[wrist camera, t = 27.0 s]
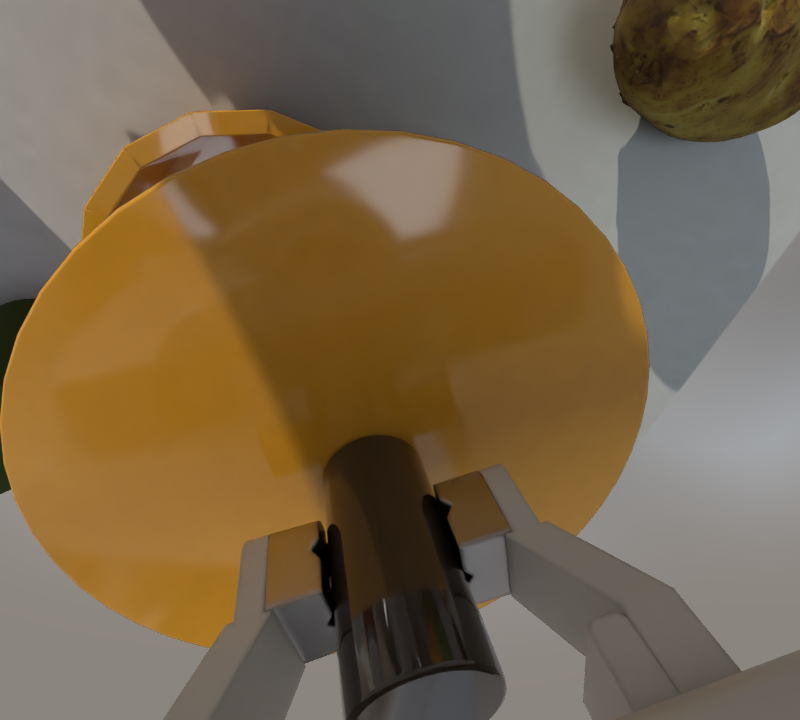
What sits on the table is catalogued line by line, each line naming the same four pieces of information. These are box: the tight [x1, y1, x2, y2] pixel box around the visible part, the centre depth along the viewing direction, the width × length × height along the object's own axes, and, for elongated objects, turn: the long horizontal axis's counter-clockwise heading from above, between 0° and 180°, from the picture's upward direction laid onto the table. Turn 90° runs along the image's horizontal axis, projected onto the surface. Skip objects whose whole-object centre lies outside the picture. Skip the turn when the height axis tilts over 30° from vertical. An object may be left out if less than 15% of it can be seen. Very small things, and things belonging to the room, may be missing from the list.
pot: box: [81, 109, 321, 241], centre depth 22 cm, size 14×14×6 cm
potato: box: [610, 0, 800, 142], centre depth 21 cm, size 8×13×8 cm, turn 56°
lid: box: [0, 129, 650, 720], centre depth 9 cm, size 15×15×6 cm
